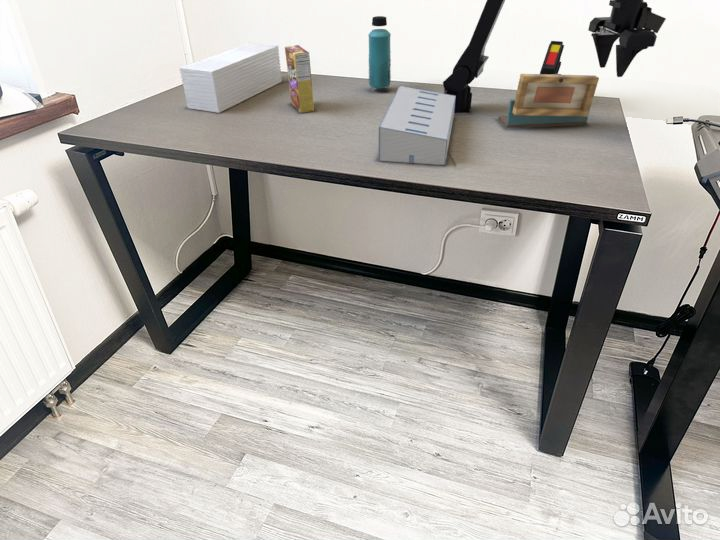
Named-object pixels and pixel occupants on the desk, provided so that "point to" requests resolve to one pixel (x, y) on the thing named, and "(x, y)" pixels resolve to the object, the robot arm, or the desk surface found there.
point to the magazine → (552, 58)
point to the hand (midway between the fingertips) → (610, 72)
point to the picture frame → (554, 95)
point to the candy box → (299, 78)
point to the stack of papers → (231, 76)
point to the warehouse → (417, 127)
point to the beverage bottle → (379, 54)
